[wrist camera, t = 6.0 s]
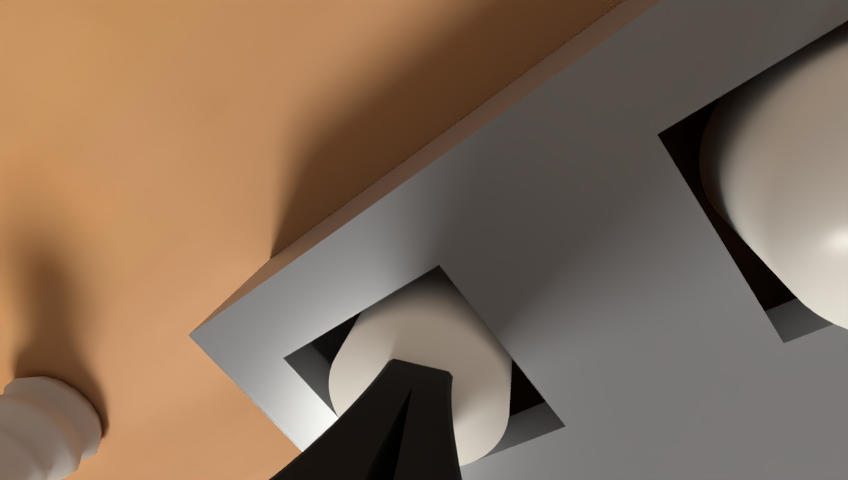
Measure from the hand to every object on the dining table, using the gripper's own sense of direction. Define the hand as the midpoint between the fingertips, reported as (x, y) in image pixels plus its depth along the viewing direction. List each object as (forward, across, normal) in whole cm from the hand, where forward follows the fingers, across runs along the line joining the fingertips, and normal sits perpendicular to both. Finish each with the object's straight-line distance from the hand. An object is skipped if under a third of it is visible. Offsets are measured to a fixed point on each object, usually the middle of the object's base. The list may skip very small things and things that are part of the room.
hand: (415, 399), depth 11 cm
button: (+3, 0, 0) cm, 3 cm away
